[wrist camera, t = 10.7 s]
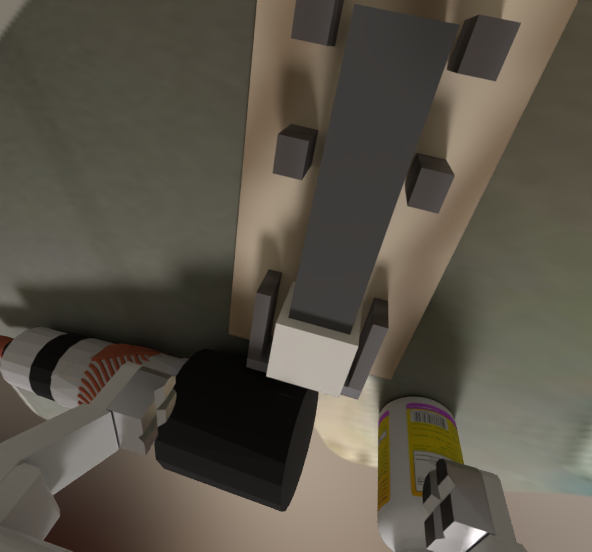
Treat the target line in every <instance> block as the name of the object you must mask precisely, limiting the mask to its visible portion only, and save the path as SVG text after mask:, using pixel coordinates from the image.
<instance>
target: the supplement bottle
mask: <svg viewBox="0 0 592 552" xmlns="http://www.w3.org/2000/svg"><path fill="white" fill-rule="evenodd" d="M442 458H443V459H447V460H450V461H454V462H457V463H461V464H464V461H463V456H462V451H461V446H460V441H459V436H458V431H457V427H456V423H455V420H454V417H453V415H452V414H451V413H450V411H449V410H448V409H447V408H445V407H444V406H443V405H441V404H440V403H438V402H436V401H434V400H431V399H428V398H423V397H404V398H399V399H396V400H394V401H392V402H390V403H388V404H387V405H386V406H385V407H384V408H383V409H382V411H381V412H380V415H379V424H378V515H377V516H378V529H379V533H380V535H381V537H382V539H383V540H384V542H385V543H386V545H387V546H388V547H389V548H390V549H392V550H393V551H394V552H433V551H431V550H428V549H426V540H425V527H424V521H425V520H426V519H427V517H428V516H429V514H428V512H427V511H426V509H425V507H424V506H423V498H422V492H423V484H424V481H425V477H426V476H427V474H428V473H429V472H430V471H433V470H436V462H437V461H438V460H439V459H442Z"/></svg>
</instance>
